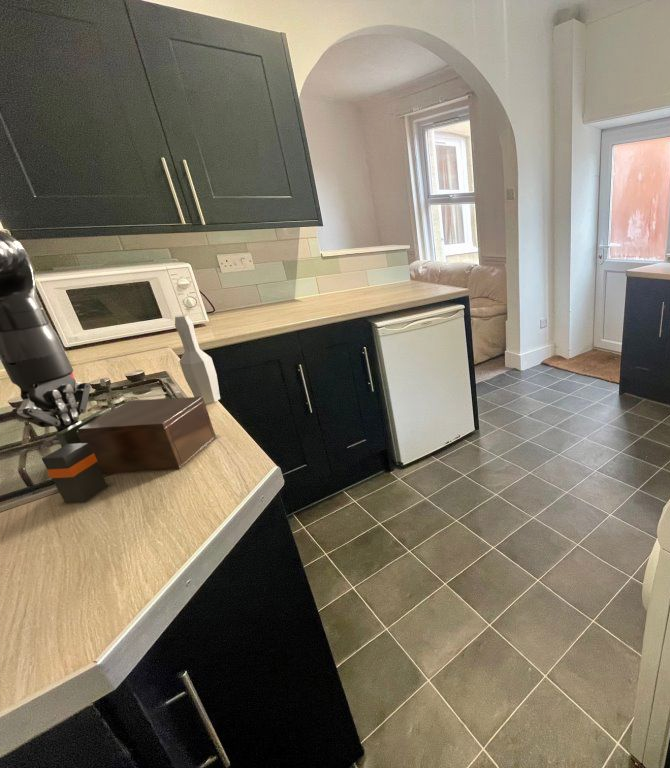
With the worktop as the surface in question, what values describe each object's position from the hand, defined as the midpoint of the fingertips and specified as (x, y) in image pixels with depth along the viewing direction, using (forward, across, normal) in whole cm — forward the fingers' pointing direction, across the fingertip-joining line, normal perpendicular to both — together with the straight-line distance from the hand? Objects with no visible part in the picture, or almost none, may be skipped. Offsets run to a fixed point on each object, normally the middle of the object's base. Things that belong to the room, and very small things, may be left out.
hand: (74, 440), depth 78 cm
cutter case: (+5, +12, +10) cm, 16 cm away
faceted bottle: (+5, -27, +8) cm, 28 cm away
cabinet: (+5, 0, +14) cm, 15 cm away
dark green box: (+4, 0, +6) cm, 7 cm away
